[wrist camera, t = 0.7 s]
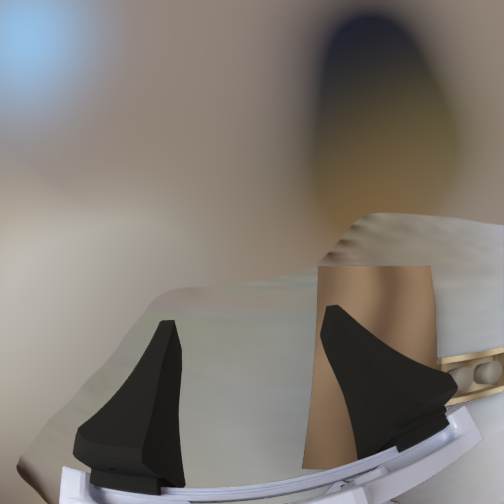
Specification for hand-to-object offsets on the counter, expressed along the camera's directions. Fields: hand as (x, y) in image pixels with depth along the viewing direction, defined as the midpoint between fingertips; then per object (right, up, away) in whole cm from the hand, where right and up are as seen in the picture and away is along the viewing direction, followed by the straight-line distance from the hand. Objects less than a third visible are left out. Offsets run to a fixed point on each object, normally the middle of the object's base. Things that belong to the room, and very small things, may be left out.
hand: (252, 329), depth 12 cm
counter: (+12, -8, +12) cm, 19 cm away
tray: (+24, -10, +8) cm, 27 cm away
